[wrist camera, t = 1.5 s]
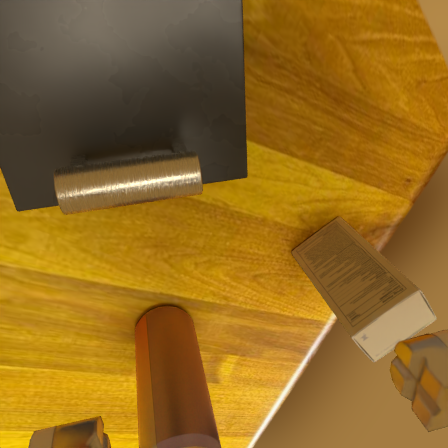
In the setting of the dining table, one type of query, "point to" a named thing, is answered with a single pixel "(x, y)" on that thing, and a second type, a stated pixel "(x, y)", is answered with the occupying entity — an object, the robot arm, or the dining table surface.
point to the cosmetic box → (363, 289)
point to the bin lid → (120, 100)
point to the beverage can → (172, 383)
